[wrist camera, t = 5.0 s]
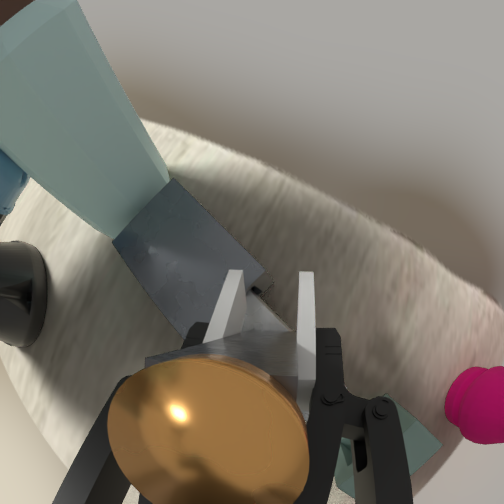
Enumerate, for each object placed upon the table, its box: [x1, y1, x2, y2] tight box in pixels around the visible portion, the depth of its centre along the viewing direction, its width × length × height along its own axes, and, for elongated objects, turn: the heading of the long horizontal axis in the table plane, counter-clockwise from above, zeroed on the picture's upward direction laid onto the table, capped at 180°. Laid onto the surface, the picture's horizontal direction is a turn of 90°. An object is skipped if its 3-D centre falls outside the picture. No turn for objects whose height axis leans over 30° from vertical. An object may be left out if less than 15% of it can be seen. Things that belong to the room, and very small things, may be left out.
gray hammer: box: [107, 289, 347, 504], centre depth 13 cm, size 18×4×18 cm, turn 44°
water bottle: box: [0, 0, 170, 239], centre depth 15 cm, size 10×10×25 cm
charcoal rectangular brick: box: [112, 178, 274, 340], centre depth 21 cm, size 10×7×6 cm
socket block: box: [334, 394, 443, 499], centre depth 15 cm, size 4×7×7 cm, turn 134°
